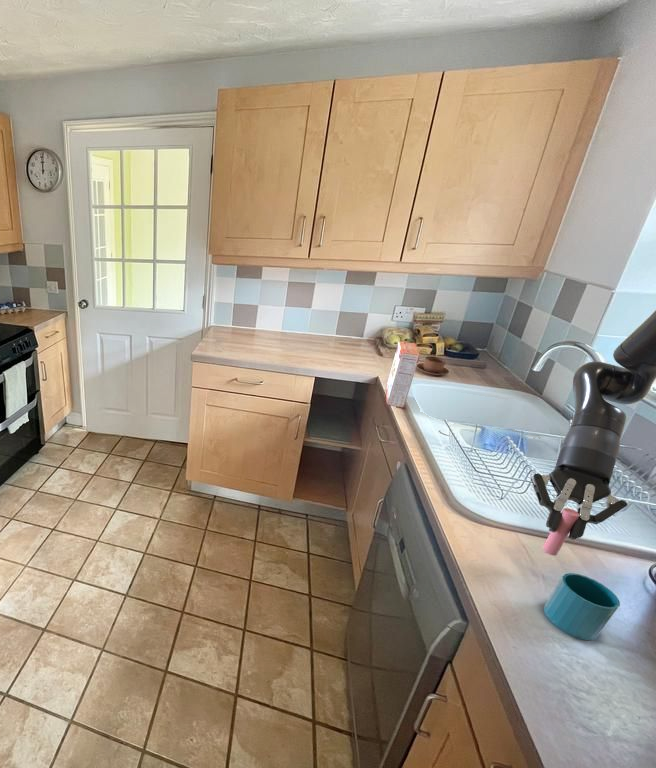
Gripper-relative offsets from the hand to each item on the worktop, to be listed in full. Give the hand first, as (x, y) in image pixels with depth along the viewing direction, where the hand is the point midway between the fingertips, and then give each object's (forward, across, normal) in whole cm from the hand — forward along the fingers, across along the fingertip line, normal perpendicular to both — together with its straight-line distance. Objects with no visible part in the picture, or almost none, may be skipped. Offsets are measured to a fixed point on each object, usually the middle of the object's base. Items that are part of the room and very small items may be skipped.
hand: (562, 534), depth 78 cm
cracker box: (-42, -43, +58) cm, 83 cm away
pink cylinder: (+3, 0, +6) cm, 6 cm away
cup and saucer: (-71, -37, +87) cm, 119 cm away
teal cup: (+14, +5, +3) cm, 15 cm away
